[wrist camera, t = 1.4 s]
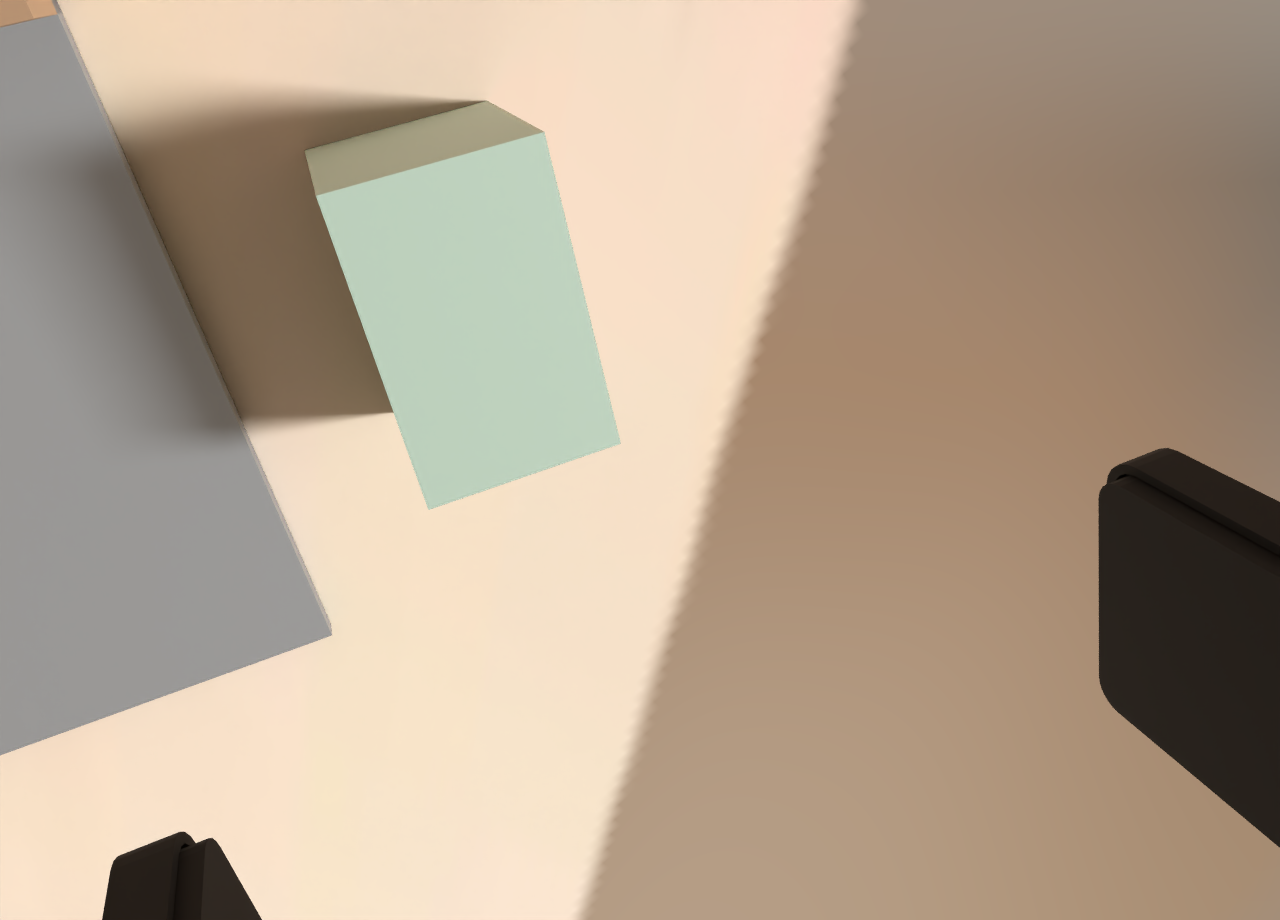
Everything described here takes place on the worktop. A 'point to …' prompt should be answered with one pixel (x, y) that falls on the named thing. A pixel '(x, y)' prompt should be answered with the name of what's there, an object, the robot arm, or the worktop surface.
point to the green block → (467, 295)
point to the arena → (114, 431)
